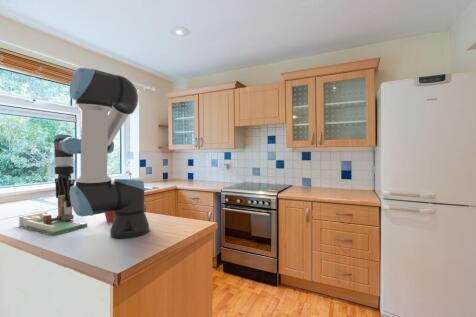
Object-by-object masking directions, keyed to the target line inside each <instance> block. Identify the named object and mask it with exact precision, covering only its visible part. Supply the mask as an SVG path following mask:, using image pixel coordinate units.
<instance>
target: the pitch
mask: <svg viewBox="0 0 476 317" xmlns="http://www.w3.org/2000/svg"><path fill="white" fill-rule="evenodd" d="M45 215H48V211H42V212H36V213H31V214H25V215H21V216H18V226H19V227H25V228H26V229H28V230H32V231H36V232H40V233H43V234H46V235H50V236H58V235H61V234H64V233H68V232H71V231H75V230H80V229H82V228H81V225H80V224H75V223H70V222H66V221H61V220H57V221H52V223H49V224H43V216H45ZM33 216H39V217H40V218H41V221H40V222H34V221H32V220H31V218H32V217H33Z"/></svg>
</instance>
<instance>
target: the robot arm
mask: <svg viewBox="0 0 476 317" xmlns="http://www.w3.org/2000/svg"><path fill="white" fill-rule="evenodd" d="M69 85H70V86H69V96H70V98H71V99H72V100H73V101H75V106H76V107H77V108H78V109H79V110H80V137H74V136H73V135H72V134H69V133H68V134H66V133H65V134H64V133H58V134H57V133H56V134H55V135H54V137H53V148H54V150H53V151H54V152H53V153H54V157H53V159H54V161H53V162H54V166H55V167H54V175H57V177H56V178H54V183H55V198H56V199H58V195H65V200H64V214H70V213H71V205H72V211H74V213H75V214H76V216H78V217H88V216H91V217H92V216H95V215H101V214H105V213H106V212H112V211H115V218H114V221H113V222H112V225H111V227H110V230H109V231H110V237H112V238H114V239H130V238H136V237H139V236H143V235H145V234H147V233H149V231H150V224H149V221H148V218H147V215H146V212H145V204H146V203H145V200H146V199H145V191H146V190H145V183H144V181H143V180H141V179H139V178H138V179H136V178H120V177H119V178H117V177H116V178H114V179H113V181H112V177H110V176H109V175H108V154H111V153H113V152H114V149H115V143H114V140H115V138H116V136H117V134H118V133H119V132H120V130H121V129H122V127H123V125H124V123H125V121H126V120H127V118H128V117H129V115H131V114H133V113H134V112H135V110H136V108H137V106H138V103H139V93H138V91H137V88H136V86H135V85H134V84H133V82H131V80H129V79H128V78H127V77H125V76H123V75H118V74H114V73H109V72H105V71H103V70H98V69H95V68H88V67H82V66H80V67H78V68H77V69H76V70H75V71H74V72H73V75H72V77H71V80H70V84H69ZM74 155H80V176H78V178H76V179H74V178H72V176H71V175H72V174H74V172H75V171H74V169H75V168H74V166H73V165H74Z"/></svg>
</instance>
